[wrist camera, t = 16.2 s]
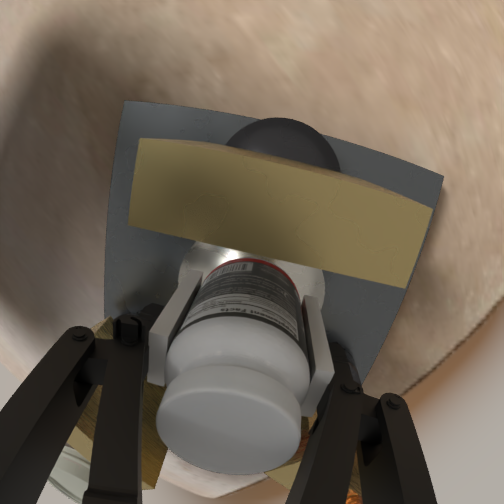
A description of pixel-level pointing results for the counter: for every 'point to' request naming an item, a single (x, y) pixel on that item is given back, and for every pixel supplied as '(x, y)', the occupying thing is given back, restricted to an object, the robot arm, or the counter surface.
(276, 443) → the pill bottle
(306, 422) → the tan bar on disc
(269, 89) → the counter surface
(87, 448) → the foot screw
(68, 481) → the coffee cup
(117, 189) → the plate
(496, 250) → the counter surface
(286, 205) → the foot screw
